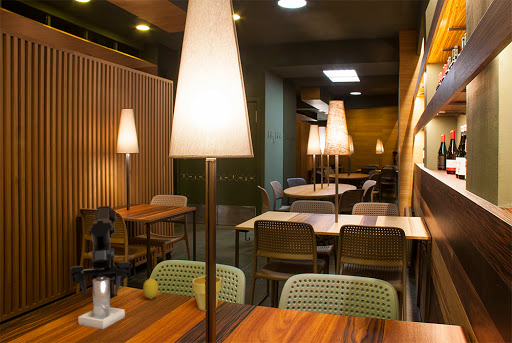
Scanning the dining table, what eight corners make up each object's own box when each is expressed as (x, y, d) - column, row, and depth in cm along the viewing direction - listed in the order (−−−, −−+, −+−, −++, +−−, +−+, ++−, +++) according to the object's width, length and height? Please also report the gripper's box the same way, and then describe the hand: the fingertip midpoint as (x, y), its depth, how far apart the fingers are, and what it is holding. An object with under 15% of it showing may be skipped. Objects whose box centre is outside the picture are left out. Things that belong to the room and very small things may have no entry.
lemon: (140, 300, 150) (139, 279, 150) (150, 295, 155) (149, 275, 155) (151, 302, 148) (150, 281, 148) (161, 298, 153) (161, 277, 152)
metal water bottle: (104, 313, 136) (103, 273, 136) (113, 316, 133) (112, 276, 132) (90, 318, 132) (89, 277, 132) (99, 322, 129) (98, 280, 128)
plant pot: (186, 309, 140) (185, 282, 140) (203, 300, 150) (203, 274, 149) (211, 314, 136) (211, 286, 135) (227, 304, 145) (227, 277, 144)
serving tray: (101, 313, 139) (101, 305, 139) (124, 316, 135) (124, 309, 135) (78, 324, 130) (78, 316, 129) (103, 329, 126) (102, 321, 126)
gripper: (69, 242, 132) (66, 286, 122) (129, 237, 138) (130, 279, 128) (73, 260, 140) (70, 302, 130) (129, 255, 146) (131, 295, 136)
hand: (100, 294), depth 131 cm, fingers open, 9 cm apart
